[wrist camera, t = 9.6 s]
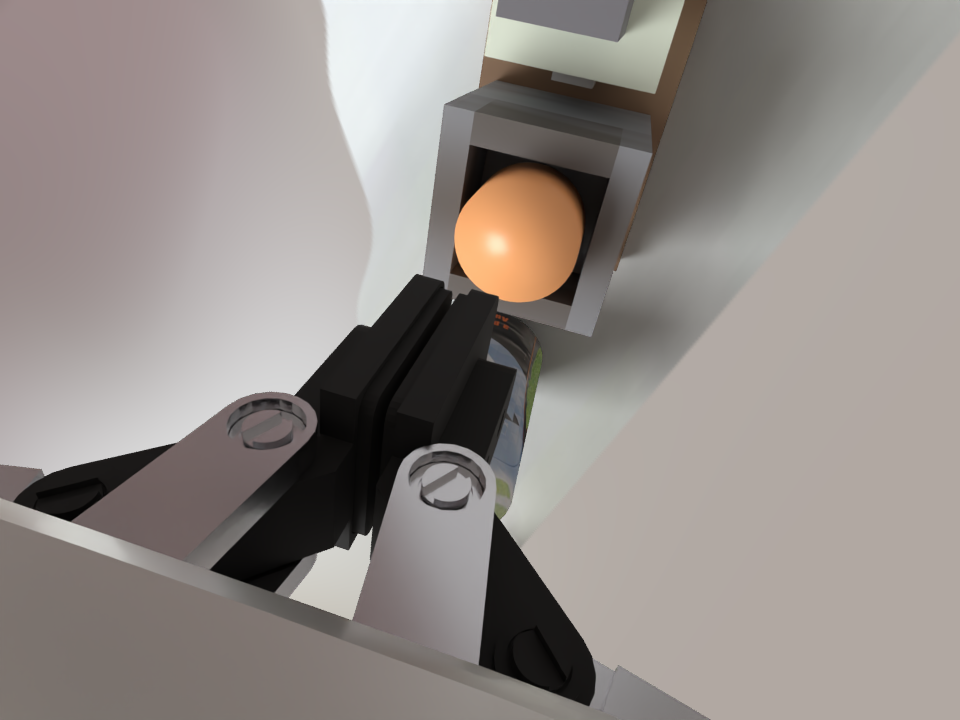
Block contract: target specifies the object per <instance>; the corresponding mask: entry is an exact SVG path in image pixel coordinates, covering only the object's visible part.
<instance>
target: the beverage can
mask: <svg viewBox="0 0 960 720" xmlns="http://www.w3.org/2000/svg"><path fill="white" fill-rule="evenodd" d="M487 361H490V362H494V363H497V364H501V365H504V366H508V367H511V368H515V369H517V374H516V378H515V382H514V386H513V390H512V394H511V398H510V402H509V406H508V409H507V413H506V417H505V420H504V423H503V427H502V430H501V433H500V436H499V439H498V443H497V445H496V448H495V451H494V454H493V457H492V460H491V463H490V467H491V469H492V471H493V473H494V475H495V478H496V488H497V489H496V499H495V508H494V512H495V514H496V515H497V516H498V518H499V519H501V518H502V517H503V516H504V515H505V514H506V512H507V511H508V509H509V507H510V505H511V502H512V498H513V493H514V488H515V484H516V479H517V475H518V470H519V466H520V461H521V456H522V452H523V447H524V443H525V438H526V433H527V429H528V424H529V420H530V415H531V410H532V406H533V401H534V397H535V392H536V388H537V383H538V378H539V374H540V369H541V365H542V351H541V347H540V344H539V342H538V340H537V338H536V336H535V335H534V334H533V332H532V331H531V330H530V329H529V328H528V327H527V326H526V325H525V324H524V323H523V322H521V321H520V320H518V319H517V318H515V317H513V316H511V315H509V314H505V313H501V312H498V311H497V312H496V317H495V322H494V327H493V331H492V336H491V341H490V346H489V350H488V355H487Z"/></svg>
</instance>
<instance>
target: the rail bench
mask: <svg viewBox="0 0 960 720" xmlns="http://www.w3.org/2000/svg"><path fill="white" fill-rule="evenodd" d="M492 2H493V0H492ZM706 3H707V0H685V1H684V5H683V8H682V11H681V14H680V17H679V20H678V23H677V27H676V30H675V33H674V36H673V39H672V42H671V45H670V49H669V52H668V55H667V58H666V61H665V64H664V68H663V71H662V74H661V77H660V80H659V83H658V86H657V90H656V93H655V94H652V93H648V92H643V91H639V90H634V89H630V88H626V87H621V86H617V85H612V84H608V83H603V82H599V81H594V80H590V79H585V78H581V77H576V76H572V75H567V74H563V73H558V72H554V71H549V70H545V69H540V68H536V67H531V66H527V65H522V64H518V63H513V62H509V61H504V60H500V59H495V58H491V57H487V56H484V58H483V64H482V71H481V77H480V83H479V88H478V89H476V90H474V91H472V92H470V93H468V94H466V95H463V96H461V97H459V98H457V99H455V100H453V101H451V102H448V103H446V104H444V110H443V118H442V126H441V134H440V142H439V150H438V158H437V166H436V174H435V182H434V190H433V198H432V206H431V214H430V222H429V230H428V238H427V246H426V254H425V262H424V270H423V276H426V277H430V278H434V279H437V280H441V281H444V283H445V289H447V290H450V291H452V294H453V296H452V299H454V300H455V299H456V297H457V296H458V294H459V293H461V294H465V295H468V294H469V292H470V290H471V289H474V290H478V291H482V290H481V289H480V288H478V287H477V286H476V285H475V284H474V283H473V282H472V281H471V280H470V279H469V277H468V276H467V275H466V274H465V272H464V270H463V269H462V267H461V265H460V263H459V260H458V257H457V254H456V249H455V240H454V236H455V227H456V223H457V220H458V217H459V214H460V213H461V211H462V209H463V207H464V206H465V204H466V203H467V202H468V201H469V200H470V198H471V197H472V196H473V195H474V194H475V193H476V192H477V191H478V190H479V189H480V188H481V187H482V186H483V184H484V183H485V182H486V181H487V180H488V179H489V178H490V177H491V176H492V175H494V174H495V173H496V172H497V171H499V170H501V169H503V168H505V167H507V166H510V165H513V164H517V163H524V162H531V163H539V164H543V165H546V166H549V167H551V168H554V169H556V170H557V171H559V172H560V173H562V174H563V175H564V176H565V177H567V178H568V179H569V180H570V181H571V182H572V184H573V185H574V186H575V188H576V189H577V191H578V192H579V194H580V196H581V199H582V202H583V205H584V209H585V218H586V222H585V230H584V235H583V239H582V242H581V246H580V249H579V253H578V257H577V260H576V263H575V266H574V269H573V271H572V272H571V274H570V276H569V277H568V279H567V280H566V281H565V283H564V284H563V285H562V286H561V287H560V288H558V289H557V290H556V291H555V292H553V293H551V294H550V295H548V296H546V297H544V298H541V299H538V300H535V301H530V302H509V301H505V300H501V299H499V302H498V308H497V311H498V312H501V313H505V314H509V315H512V316H516V317H520V318H523V319H527V320H530V321H534V322H538V323H541V324H545V325H549V326H552V327H556V328H560V329H563V330H567V331H570V332H574V333H578V334H581V335H585V336H589V337H592V334H593V331H594V328H595V325H596V322H597V319H598V316H599V313H600V310H601V307H602V304H603V301H604V298H605V295H606V292H607V289H608V286H609V283H610V280H611V277H612V274H613V271H616V270H617V267H618V264H619V261H620V258H621V255H622V252H623V250H624V247H625V244H626V241H627V238H628V235H629V232H630V229H631V226H632V223H633V220H634V217H635V214H636V211H637V208H638V205H639V202H640V199H641V196H642V193H643V190H644V187H645V184H646V181H647V178H648V175H649V172H650V169H651V166H652V163H653V160H654V157H655V154H656V151H657V148H658V146H659V143H660V140H661V137H662V134H663V131H664V128H665V125H666V122H667V119H668V116H669V113H670V110H671V107H672V104H673V101H674V98H675V95H676V92H677V89H678V86H679V83H680V80H681V77H682V74H683V71H684V68H685V65H686V62H687V59H688V56H689V53H690V50H691V47H692V44H693V41H694V39H695V36H696V33H697V30H698V27H699V24H700V21H701V18H702V15H703V12H704V9H705V6H706ZM491 9H492V6H491ZM490 15H491V12H490ZM489 22H490V19H489ZM488 28H489V25H488ZM487 35H488V32H487ZM486 41H487V38H486ZM485 47H486V45H485ZM484 54H485V51H484ZM482 292H484V291H482ZM485 293H486V292H485Z"/></svg>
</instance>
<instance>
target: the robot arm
mask: <svg viewBox="0 0 960 720" xmlns="http://www.w3.org/2000/svg"><path fill="white" fill-rule="evenodd" d="M452 296H453V294H452V291H450V290H447V289H445V283H444V281H441V280H437V279H434V278H430V277H426V276H423V275H419V274H416V275H415V276H414V277H413V278H412V279H411V280H410V282H409V283H408V284H407V285H406V286H405V288H404V289H403V290H402V291H401V292H400V294H399V295H398V296H397V297H396V298H395V300H394V301H393V302H392V303H391V304H390V306H389V307H388V308H387V309H386V310H385V312H384V313H383V314H382V315H381V316H380V317H379V319H378V320H377V321H376V322H375V323H374V325H373V326H372V327H368V326H364V325H358V326H356V327H355V328H354V329H353V330H352V331H351V332H350V333H349V335H348V336H347V337H346V338H345V339H344V340H343V341H342V343H341V344H340V345H339V346H338V347H337V348H336V349H335V350H334V352H333V353H332V354H331V355H330V356H329V357H328V358H327V359H326V360H325V362H324V363H323V364H322V365H321V366H320V367H319V368H318V370H317V371H316V372H315V373H314V374H313V375H312V376H311V377H310V379H309V380H308V381H307V382H306V383H305V384H304V385H303V386H302V388H301V389H300V390H299V391H298V392H297V393H296V394H295V395H294V396H293V395H290V394H287V393H279V392H265V393H255V394H252V395H249V396H246V397H243V398H240V399H238V400H236V401H235V402H233V403H231V404H229V405H228V406H227V407H225V408H224V409H222V410H221V411H220V412H218V413H217V414H216V415H214V416H213V417H212V418H210V419H209V420H208V421H206V422H205V423H204V424H202V425H201V426H199V427H198V428H197V429H196V430H194V431H193V432H191V433H190V434H189V435H187V436H186V437H185V438H183V439H182V440H181V441H179V442H178V443H174V444H169V445H165V446H161V447H156V448H152V449H148V450H143V451H139V452H134V453H130V454H125V455H121V456H117V457H112V458H108V459H104V460H99V461H95V462H90V463H86V464H81V465H77V466H73V467H69V468H66V469H63V470H60V471H57V472H53V473H51V474H49V475H47V476H44V474H43V471H42V469H34V468H26V467H17V466H9V465H0V720H710V719H709V718H707V717H705V716H704V715H701V714H700V713H699V712H697V711H695V710H693V709H692V708H690V707H688V706H687V705H685V704H683V703H682V702H680V701H678V700H677V699H675V698H673V697H671V696H670V695H668V694H666V693H665V692H663V691H661V690H660V689H658V688H656V687H655V686H653V685H651V684H649V683H648V682H646V681H644V680H643V679H641V678H639V677H638V676H636V675H634V674H632V673H631V672H629V671H628V670H626V669H624V668H622V667H621V666H619V665H618V667H617V668H616V670H615V671H613V670H611V669H609V668H608V667H606V666H605V665H603V664H601V663H599V662H598V661H596V660H594V659H593V658H592V655H591V653H590V652H589V650H588V648H587V646H586V644H585V642H584V640H583V639H582V637H581V636H580V634H579V633H578V631H577V630H576V629H575V627H574V625H573V624H572V623H571V621H570V620H569V618H568V617H567V616H566V614H565V613H564V611H563V610H562V608H561V607H560V605H559V604H558V603H557V601H556V600H555V598H554V597H553V595H552V594H551V593H550V591H549V590H548V588H547V587H546V585H545V584H544V583H543V581H542V580H541V578H540V577H539V575H538V574H537V572H536V571H535V570H534V568H533V567H532V565H531V564H530V562H529V561H528V560H527V558H526V557H525V555H524V554H523V552H522V551H521V549H520V548H519V547H518V545H517V544H516V542H515V541H514V539H513V538H512V537H511V535H510V534H509V532H508V531H507V529H506V528H505V526H504V525H503V524H502V522H501V521H500V519H499V518H498V516H497V515H496V514H495V512H494V508H495V499H496V489H497V488H496V478H495V475H494V473H493V471H492V469H491V467H490V463H491V460H492V457H493V454H494V451H495V448H496V445H497V443H498V439H499V436H500V433H501V430H502V427H503V423H504V420H505V417H506V413H507V409H508V406H509V402H510V398H511V394H512V390H513V386H514V382H515V378H516V374H517V369H515V368H511V367H508V366H504V365H501V364H497V363H494V362H490V361H487V355H488V350H489V346H490V341H491V336H492V331H493V327H494V322H495V317H496V312H497V308H498V302H499V296H496V295H493V294H489V293H485V292H482V291H478V290H474V289H471V290H470V292H469V294H468V295H465V294H461V293H459V294H458V296H457V297H456V299H455V300H454V302H453V304H452V305H451V303H452ZM372 526H373V530H372V541H371V554H370V564H369V567H368V571H367V574H366V577H365V580H364V584H363V587H362V590H361V594H360V597H359V600H358V603H357V607H356V610H355V613H354V617H353V620H349V619H346V618H344V617H341V616H338V615H335V614H332V613H330V612H327V611H324V610H321V609H318V608H315V607H313V606H310V605H307V604H304V603H301V602H298V601H295V600H293V599H290V598H289V597H290V595H291V594H292V593H293V591H294V590H295V589H296V588H297V587H298V585H299V584H300V583H301V582H302V580H303V579H304V578H305V576H306V575H307V574H308V573H309V571H310V570H311V568H312V567H313V565H314V563H315V561H316V558H317V553H319V552H322V551H325V550H327V549H330V548H333V547H334V546H337V547H340V548H343V549H346V550H349V549H350V547H351V545H352V543H353V541H354V540H355V538H356V536H357V534H362V535H365V536H366V535H367V534H368V533H369V532H370V530H371V528H372Z"/></svg>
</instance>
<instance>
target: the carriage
mask: <svg viewBox="0 0 960 720" xmlns="http://www.w3.org/2000/svg"><path fill="white" fill-rule="evenodd" d="M684 1H685V0H493V2H492V9H491V15H490V22H489V28H488V35H487V41H486V47H485V54H484V56H487V57H491V58H495V59H500V60H504V61H509V62H513V63H518V64H522V65H527V66H531V67H536V68H540V69H545V70H549V71H554V72H558V73H563V74H567V75H572V76H576V77H581V78H585V79H590V80H594V81H599V82H603V83H608V84H612V85H617V86H621V87H626V88H630V89H634V90H639V91H643V92H648V93H652V94H655V93H656V90H657V86H658V83H659V80H660V77H661V74H662V71H663V68H664V64H665V61H666V58H667V55H668V52H669V49H670V45H671V42H672V39H673V36H674V33H675V30H676V27H677V23H678V20H679V17H680V14H681V11H682V8H683V5H684Z"/></svg>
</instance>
